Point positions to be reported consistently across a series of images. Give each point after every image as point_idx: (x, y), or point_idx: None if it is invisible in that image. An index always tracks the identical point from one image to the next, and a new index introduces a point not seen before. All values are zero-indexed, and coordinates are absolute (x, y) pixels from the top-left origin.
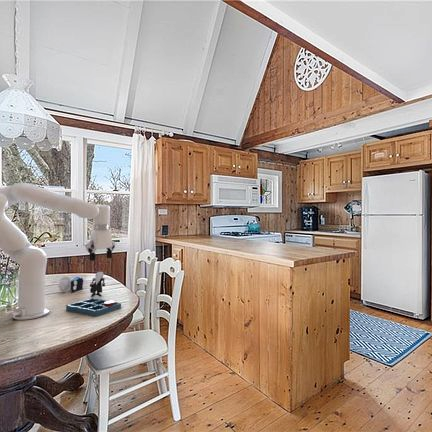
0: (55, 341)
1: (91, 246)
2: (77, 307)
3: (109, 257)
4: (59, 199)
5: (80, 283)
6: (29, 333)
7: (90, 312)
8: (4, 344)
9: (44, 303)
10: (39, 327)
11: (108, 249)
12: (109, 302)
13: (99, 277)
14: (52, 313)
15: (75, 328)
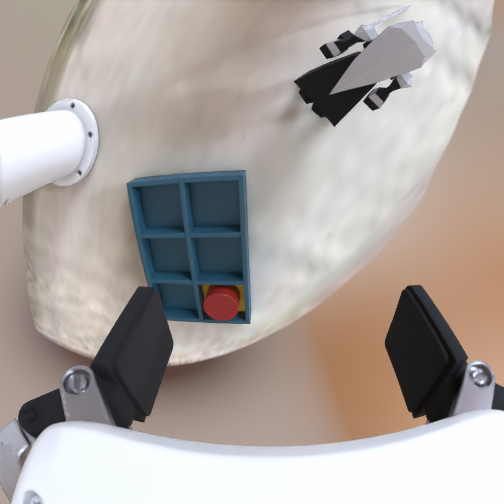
0: (76, 340)
1: (75, 460)
2: (138, 245)
3: (390, 336)
4: None
5: None
6: (48, 275)
7: None
8: (27, 286)
9: (64, 167)
10: (60, 260)
11: (453, 400)
12: (217, 311)
13: (382, 69)
14: (101, 171)
15: (107, 327)
